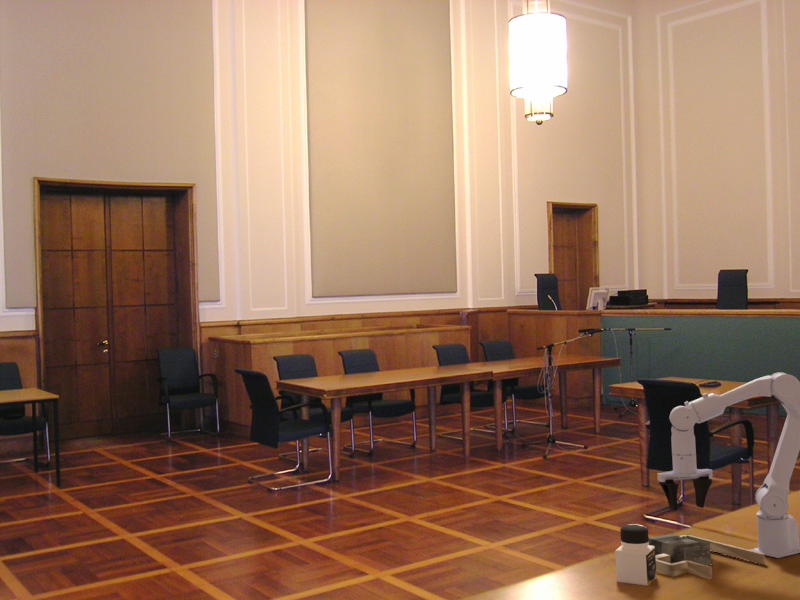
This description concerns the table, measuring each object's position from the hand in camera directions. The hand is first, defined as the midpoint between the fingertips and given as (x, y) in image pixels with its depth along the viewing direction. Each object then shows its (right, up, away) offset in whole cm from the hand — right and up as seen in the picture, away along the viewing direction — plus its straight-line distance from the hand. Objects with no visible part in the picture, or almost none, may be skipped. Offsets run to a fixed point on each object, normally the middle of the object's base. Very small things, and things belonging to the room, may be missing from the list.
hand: (686, 508), depth 207 cm
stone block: (-5, -11, -9) cm, 15 cm away
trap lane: (-3, -10, -11) cm, 15 cm away
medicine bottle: (-19, -11, -23) cm, 32 cm away
